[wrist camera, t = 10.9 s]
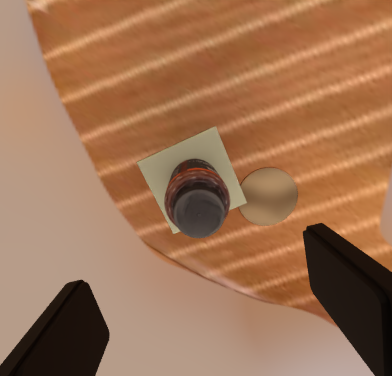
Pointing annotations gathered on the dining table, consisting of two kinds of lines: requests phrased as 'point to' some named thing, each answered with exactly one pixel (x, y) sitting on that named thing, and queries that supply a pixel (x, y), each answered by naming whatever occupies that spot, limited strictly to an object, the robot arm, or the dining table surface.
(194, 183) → the supplement bottle
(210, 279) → the dining table surface
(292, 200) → the tan round plate
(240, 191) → the grey-green block
